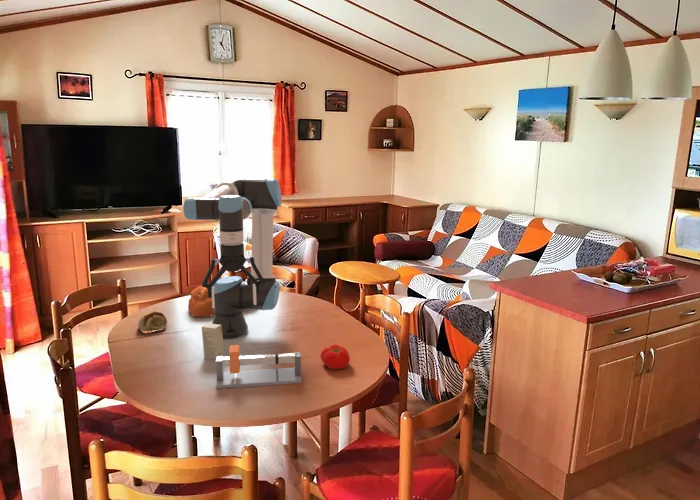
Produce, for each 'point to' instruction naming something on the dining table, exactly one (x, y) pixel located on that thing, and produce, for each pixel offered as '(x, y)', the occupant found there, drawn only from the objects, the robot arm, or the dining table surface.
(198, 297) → the bread
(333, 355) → the tomato
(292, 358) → the rail
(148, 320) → the pastry
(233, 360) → the collar
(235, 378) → the board
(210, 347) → the skincare box
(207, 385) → the dining table surface
